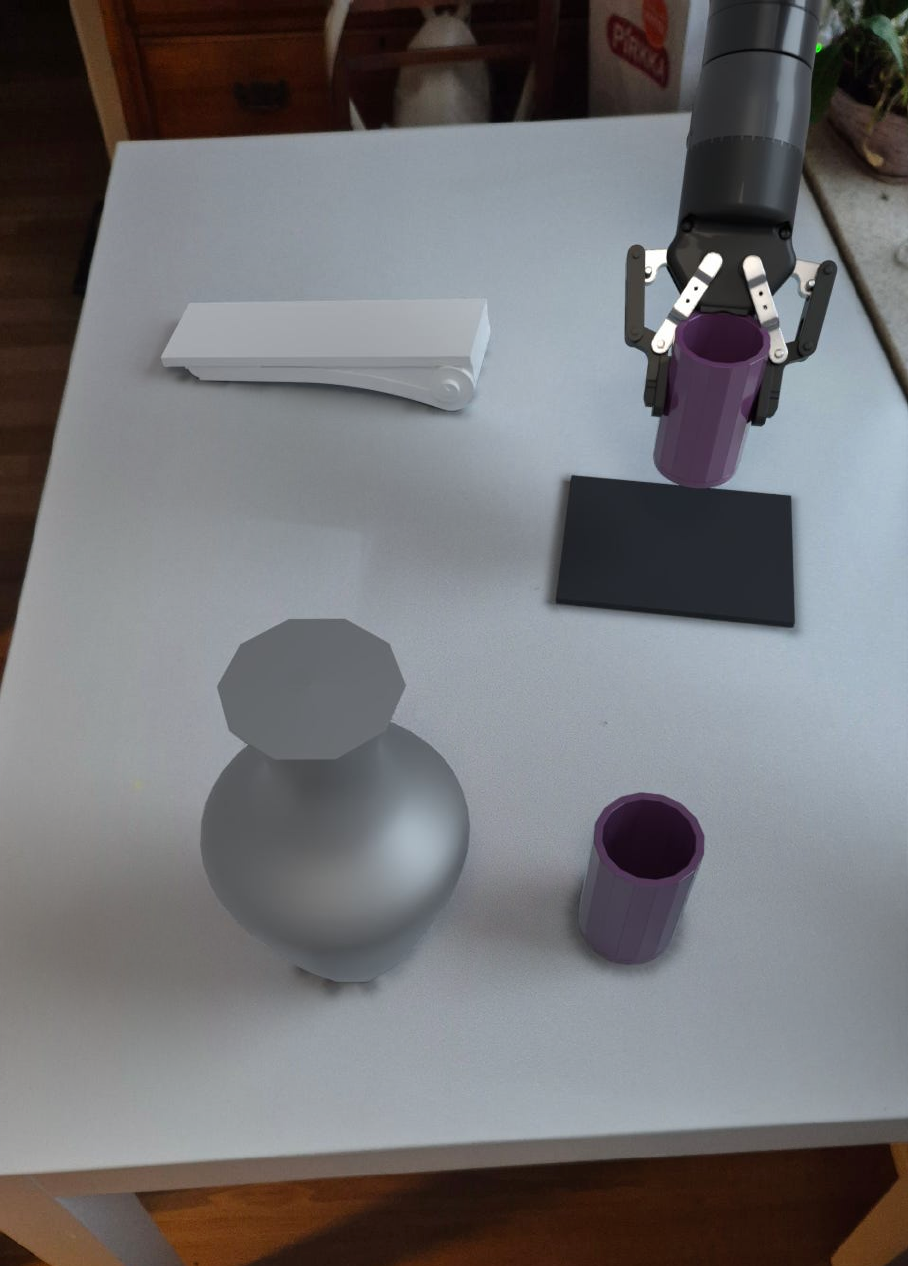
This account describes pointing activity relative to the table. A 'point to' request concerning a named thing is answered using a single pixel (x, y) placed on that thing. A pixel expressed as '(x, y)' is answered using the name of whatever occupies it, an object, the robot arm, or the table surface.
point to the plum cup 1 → (639, 876)
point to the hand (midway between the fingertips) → (707, 419)
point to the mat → (678, 551)
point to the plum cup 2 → (710, 398)
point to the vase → (330, 804)
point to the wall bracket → (340, 345)
